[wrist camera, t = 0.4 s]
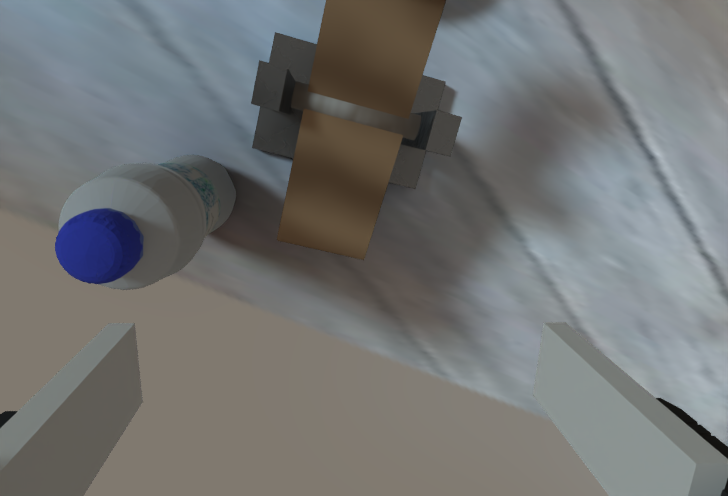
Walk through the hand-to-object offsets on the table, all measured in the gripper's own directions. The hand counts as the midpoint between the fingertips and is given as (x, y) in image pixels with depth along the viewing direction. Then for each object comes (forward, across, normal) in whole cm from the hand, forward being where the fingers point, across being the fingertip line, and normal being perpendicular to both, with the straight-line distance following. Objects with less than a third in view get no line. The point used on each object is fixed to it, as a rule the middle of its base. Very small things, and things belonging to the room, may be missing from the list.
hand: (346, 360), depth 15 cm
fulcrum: (+27, +1, +8) cm, 28 cm away
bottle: (+27, -11, +1) cm, 29 cm away
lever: (+23, +2, +10) cm, 25 cm away
